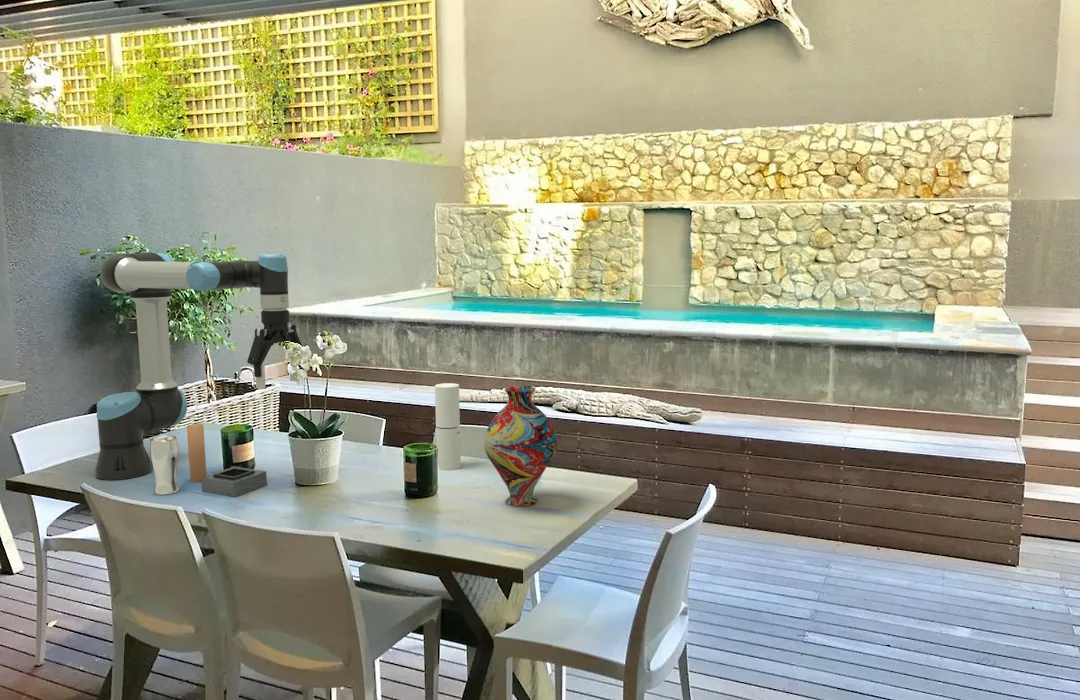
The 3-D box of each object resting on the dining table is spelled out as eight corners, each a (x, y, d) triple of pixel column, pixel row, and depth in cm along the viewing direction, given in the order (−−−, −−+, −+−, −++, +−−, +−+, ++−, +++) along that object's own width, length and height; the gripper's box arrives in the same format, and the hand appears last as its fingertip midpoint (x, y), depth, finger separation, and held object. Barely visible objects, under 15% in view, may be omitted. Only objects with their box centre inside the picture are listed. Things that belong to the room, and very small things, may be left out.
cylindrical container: (432, 466, 255) (430, 385, 252) (451, 462, 260) (449, 382, 257) (446, 471, 250) (444, 388, 247) (465, 466, 255) (463, 385, 252)
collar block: (202, 491, 232) (201, 475, 232) (235, 480, 243) (234, 464, 242) (235, 497, 227) (234, 480, 227) (267, 485, 238) (266, 469, 237)
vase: (475, 495, 227) (473, 385, 223) (541, 487, 234) (540, 380, 230) (499, 517, 209) (497, 398, 205) (568, 507, 216) (568, 392, 212)
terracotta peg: (187, 480, 243) (183, 426, 240) (199, 476, 247) (195, 423, 244) (198, 482, 241) (194, 427, 239) (210, 478, 245) (206, 424, 243)
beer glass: (171, 486, 237) (168, 434, 235) (185, 490, 233) (182, 437, 231) (148, 492, 232) (144, 439, 230) (162, 496, 228) (158, 442, 226)
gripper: (252, 313, 223) (256, 393, 226) (315, 306, 245) (318, 378, 248) (231, 312, 226) (235, 390, 229) (295, 305, 248) (298, 377, 251)
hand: (278, 384), depth 238 cm, fingers open, 13 cm apart
